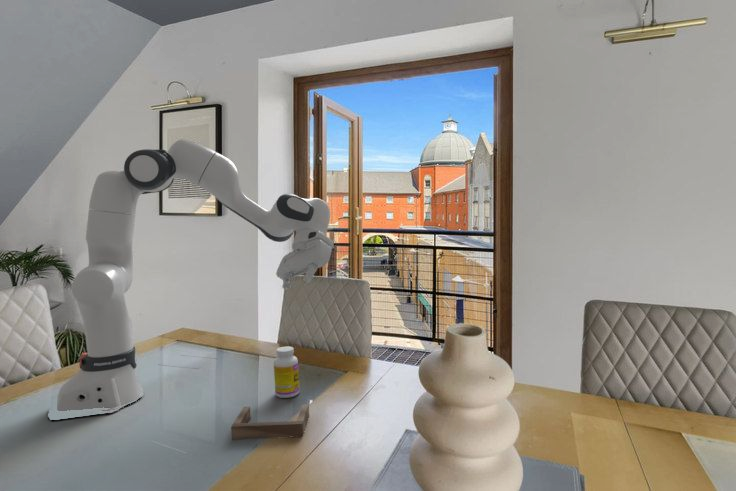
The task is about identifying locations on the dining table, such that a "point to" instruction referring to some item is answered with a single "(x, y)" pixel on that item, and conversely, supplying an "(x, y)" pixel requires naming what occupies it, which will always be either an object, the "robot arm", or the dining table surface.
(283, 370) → the supplement bottle
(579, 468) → the dining table surface
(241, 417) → the walnut bay
